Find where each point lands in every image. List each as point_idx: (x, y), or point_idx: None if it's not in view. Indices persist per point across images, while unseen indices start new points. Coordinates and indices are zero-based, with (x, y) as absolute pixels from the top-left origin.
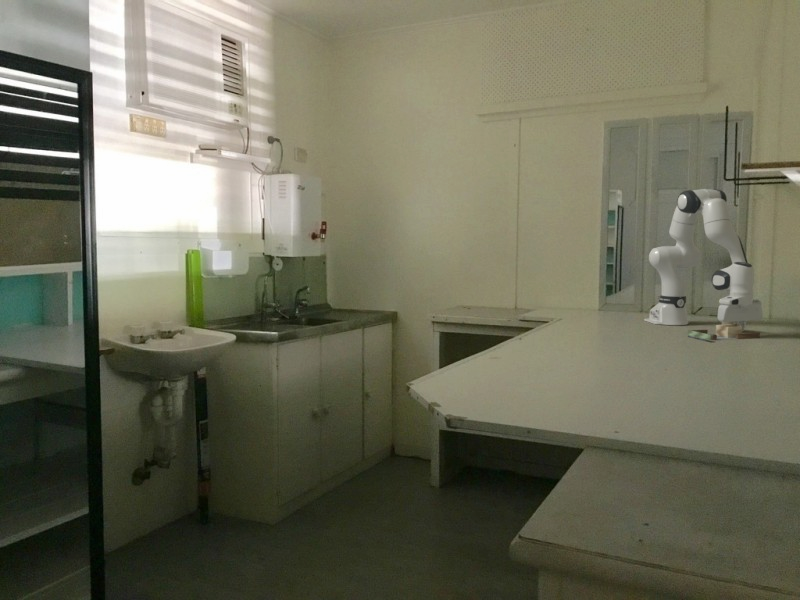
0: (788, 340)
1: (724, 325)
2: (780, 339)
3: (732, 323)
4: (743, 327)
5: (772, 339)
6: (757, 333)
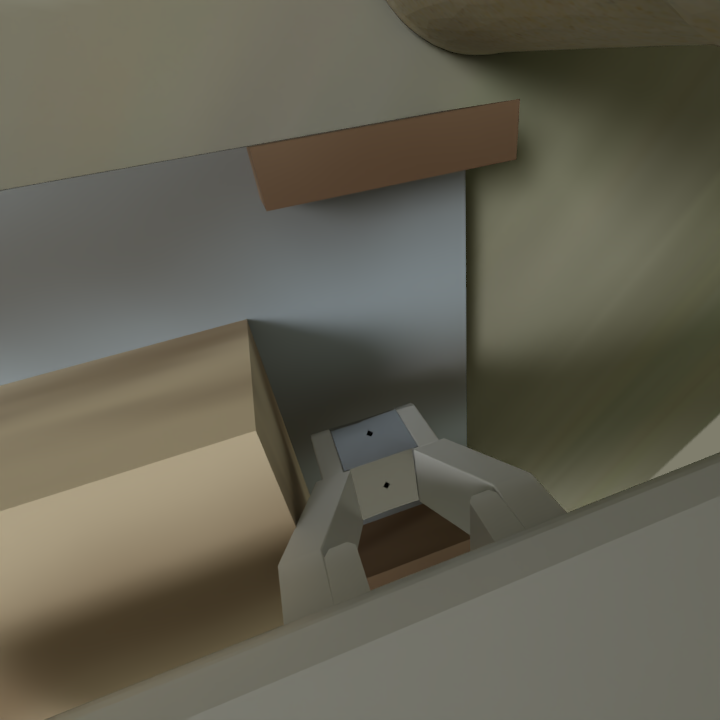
0: (643, 463)
1: (15, 621)
2: (638, 429)
3: (566, 17)
4: (435, 500)
5: (584, 437)
6: (463, 553)
